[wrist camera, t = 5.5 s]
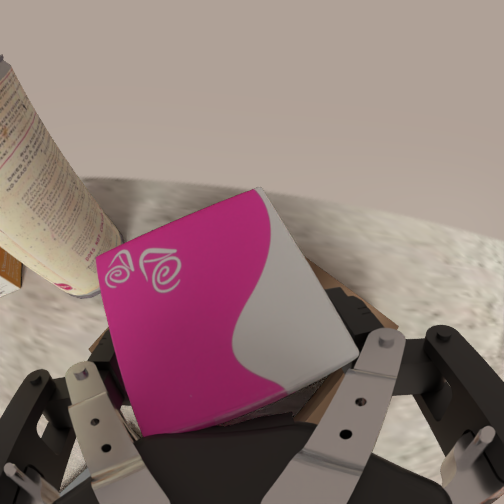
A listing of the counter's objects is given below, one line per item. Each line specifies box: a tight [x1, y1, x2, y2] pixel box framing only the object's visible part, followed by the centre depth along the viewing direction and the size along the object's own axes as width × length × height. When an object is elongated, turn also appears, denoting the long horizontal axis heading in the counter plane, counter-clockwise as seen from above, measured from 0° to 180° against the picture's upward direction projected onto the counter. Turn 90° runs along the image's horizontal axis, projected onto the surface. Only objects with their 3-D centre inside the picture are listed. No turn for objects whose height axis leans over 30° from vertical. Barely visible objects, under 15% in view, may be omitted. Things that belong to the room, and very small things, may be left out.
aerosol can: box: [0, 54, 124, 299], centre depth 11 cm, size 7×7×20 cm
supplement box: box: [96, 187, 359, 437], centre depth 12 cm, size 6×6×12 cm
